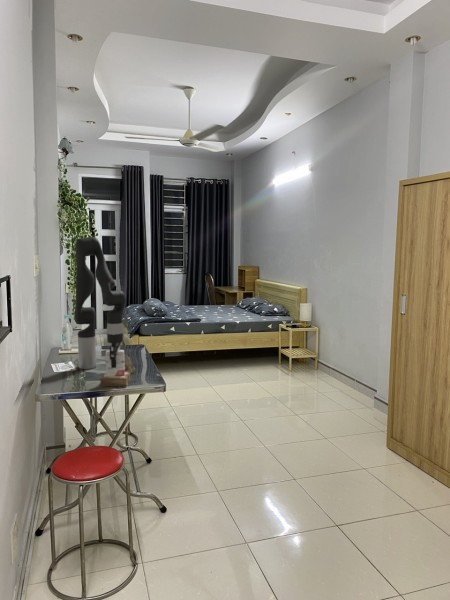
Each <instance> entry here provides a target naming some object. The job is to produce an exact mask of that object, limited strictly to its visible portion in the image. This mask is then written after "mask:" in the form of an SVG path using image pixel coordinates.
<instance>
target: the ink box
mask: <svg viewBox="0 0 450 600" xmlns="http://www.w3.org/2000/svg"><path fill="white" fill-rule="evenodd" d="M124 355H125V350H124V349H121V350H118V355H117V357H116V368H112V367H111V360H110V349H109V350H106V351H105V373H106V376H117V375H125V364H124ZM112 357H114V356H112Z"/></svg>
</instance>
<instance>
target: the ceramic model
mask: <svg viewBox="0 0 450 600" xmlns="http://www.w3.org/2000/svg"><path fill="white" fill-rule="evenodd" d="M124 364H125V372H130V373H131V374H132V375H133V374H134V373H135V372H136V368H135V367H134V366H132V362H131V358H130V357H129V356H128V355H126V354H124Z"/></svg>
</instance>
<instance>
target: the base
mask: <svg viewBox="0 0 450 600" xmlns="http://www.w3.org/2000/svg"><path fill="white" fill-rule="evenodd" d="M131 377H132V376H131V373H130V372H125V375H117V376H106V372H104V374H103V375H102V376H101V378H100V380H99V381H100V387H127V386H128V384H129V383H130V381H131V380H132V379H131ZM126 385H127V386H126Z"/></svg>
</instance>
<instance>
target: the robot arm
mask: <svg viewBox="0 0 450 600" xmlns="http://www.w3.org/2000/svg"><path fill="white" fill-rule="evenodd" d="M91 256H95V258H96V261H97V262H96V266H95V267H96V268H95V271H94V272H95V275H94V274H93V272H92V271H91V270H90V268H89V266H88V265H87V264H86V257H91ZM75 258H76V259H75V260H76V261H75V262H76V263H75V264H76V276H75V306H74V317H73V318H74V323H75V324H76V325H87V327H85V328H84V329H81V330H79V331H78V332H77V349H78V350H77V352H78V354H77V355H78V356H77V357H78V369H80V370H81V369H82V370H90V369H91V370H92V369H94V368H96V367H97V349H96V348H97V347H96V346H97V344H96V343H97V342H96V341H97V340H96V315H97V313H96V309H95V307H92V306H85V307H84V304H85V302H86V301H87V300H88V298H89V297H90V296H91V295H92V293H93V292H94V290H95V281H96V280H97V283H98V284H99V287H100V291H101V297H102V302H103V303H104V304H105V305H106V306H107V307H113V309H112V310H109V311H107V315H106V316H107V317H106V321H107V322H106V325H107V326H106V342H107V343H109V344H111V346H109V350H110V360H111V367H112V368H116V357H117V355H118V350H122V349H121V348H122V345H121V344H122V343H123V342H124V325H123V312H124V308H125V305H126V300H127V299H126V293H124V291H122V290H113V289H114V288H115V287H116V283H115V279H114V278H113V276H112V274H111V272H110V270H109V267H108V264H107V261H106V258H105V255H104V251H103V248H102V246H101V243H100V241H99V239H98V238H97V237H96V236H87V237H81V238H80V237H79V238H78V239H76V241H75ZM95 279H96V280H95ZM112 356H114V357H112Z"/></svg>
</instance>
